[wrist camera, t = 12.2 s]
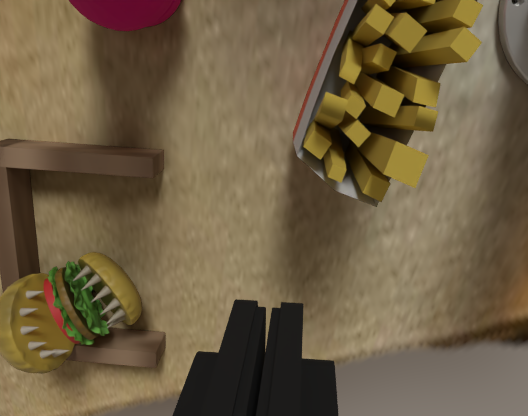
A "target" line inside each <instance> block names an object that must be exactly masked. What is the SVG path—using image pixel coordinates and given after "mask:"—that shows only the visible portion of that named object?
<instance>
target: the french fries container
mask: <svg viewBox="0 0 528 416" xmlns="http://www.w3.org/2000/svg"><path fill="white" fill-rule="evenodd" d="M482 7H483V5H482V4H480V3H478V2H477V0H345V1H344V4H343V6H342V8H341V10H340V12H339V15H338V17H337V19H336V22H335V24H334V27H333V29H332V32H331V34H330V37H329V39H328V42H327V44H326V47H325V49H324V52H323V54H322V57H321V59H320V62H319V64H318V67H317V69H316V72H315V74H314V77H313V79H312V82H311V84H310V87H309V89H308V92H307V94H306V97H305V100H304V103H303V106H302V109H301V111H300V114H299V117H298V120H297V123H296V126H295V128H294V131H293V143H294V147H295V150H296V154H297V156H298V157H299V158H300V159H301V160H302V161H303V162H304V163H305V164H307V165H308V166H309V167H310V168H311V169H312V170H313V171H314V172H315V173H316V174H317V175H319V176H320V177H321V178H322V179H323V180H324V181H325V182H326V183H327V184H328V185H329V186H331V187H332V188H333V189H334V190H335V191H337V192H340V193H343V194H345V195H348V196H350V197H353V198H355V199H358V200H360V201H363V202H366V203H368V204H371V205H373V206H376V207H377V205H378V203H379V201H380V202H382V200H383V198H384V196H385V194H386V192H387V190H388V188H389V186H390V182H389V181H390V178H393V179H396V180H398V181H400V182H402V183H405V184H407V185H409V186H412V187H414V188H415V187H416V185H417V182H418V180H419V177H420V175H421V173H422V170H423V168H424V165H425V163H426V160H427V158H428V156H429V155H427V154H424V153H422V152H420V151H417V150H415V149H413V148H411V147H408V146H407V144H408V142H409V140H410V138H411V135H412V133H413V131H414V130H419V131H432V132H433V130H434V126H435V122H436V118H437V114H438V111H434V110H431V109H428V108H425V107H426V105H428V106H432V107H436V104H437V99H438V94H439V89H440V84H441V83H438V80H439V78H440V76H441V74H442V72H443V70H444V68H445V66H446V64H450V63H461V62H467V61H468V60H469V59H470V58H471V56H472V55H473V54H474V52H475V51H476V50H477V48H478V47H479V46H480V44H481V43H482V42H481V41H480V40H479V39H478V38H477V37H475V36H474V35H473V34H472V33H471V32H470V31H469V30H468V29H467V28H470V27H472V26H473V24H474V22H475V20H476V18H477V16H478V14H479V12H480V11H481V9H482Z"/></svg>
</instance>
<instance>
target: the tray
mask: <svg viewBox="0 0 528 416" xmlns="http://www.w3.org/2000/svg"><path fill="white" fill-rule="evenodd" d="M29 169H37V170H51V171H64V172H78V173H91V174H105V175H118V176H132V177H145V178H154V177H155V176H156V175H157V174H158V173H160V172H161V171H162V170H163V169H164V150H157V149H143V148H129V147H115V146H101V145H87V144H73V143H59V142H45V141H31V140H18V139H5V140H2V141H0V274H1V281H2V289H3V292H4V291H5V290H6V289H7V287H8V286H10V285H11V284H13V283H14V282H15V281H17V280H19V279H21V278H23V277H26V276H28V275H31V274H39V273H40V269H39V259H38V249H37V239H36V230H35V220H34V210H33V200H32V191H31V181H30V171H29ZM108 331H109V333H108V334H104V335H105V336H102V335H100V334H99V336H97V337H96V338H94V339H93V340H94V343H93V344H90V345H85V344H81V343H78V344H75V345H74V347H73V350H72V353H71V355H70V356H69V357H68V358H67V359H66V360H73V361H84V362H95V363H106V364H117V365H128V366H139V367H150V368H156V367H157V365H158V363H159V360H160V358H161V356H162V354H163V351H164V349H165V332H154V331H143V330H132V329H120V328H108Z"/></svg>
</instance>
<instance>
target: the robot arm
mask: <svg viewBox="0 0 528 416" xmlns="http://www.w3.org/2000/svg"><path fill="white" fill-rule="evenodd" d="M498 26H499V34H500V41H501V44H502V47H503V50H504V53H505V56H506V58H507V60H508V62H509V64H510V65H511V67H512V69H513V70H514V72H515V73H516V74H517V75H518V76H519V77H520V78H521V79H522V80H523V81H524V82H525V83H526V84H527V85H528V0H516V1H515V3H514V4H513V3H512V0H500V4H499V19H498ZM302 331H303V304H302V303H286V302H281V308H272V313H271V319H270V326H269V332H268V339H267V346H266V352H265V335H266V308H265V307H258V302H257V301H252V300H235V301H234V304H233V307H232V311H231V314H230V317H229V321H228V324H227V327H226V330H225V334H224V337H223V340H222V343H221V347H220V350H219V353H216V352H202V351H198V352H197V353H196V355H195V358H194V360H193V363H192V366H191V368H190V371H189V374H188V376H187V379H186V381H185V384H184V387H183V389H182V392H181V395H180V397H179V400H178V403H177V405H176V408H175V411H174V413H173V416H338V404H337V391H336V378H335V365H334V361H329V360H315V359H302Z"/></svg>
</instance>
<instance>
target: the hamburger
mask: <svg viewBox="0 0 528 416" xmlns="http://www.w3.org/2000/svg"><path fill="white" fill-rule="evenodd" d="M78 263H79V265H76V264H74V262H71V263H70V262H69V261H68V262H67V264H66V267H65V268H60V269H59V270H58V268H57V267H53V269H52V270H51V271H49V275H47V274H44V273H39V274H31V275H28V276H26V277H23V278H21V279H19V280H17V281H15V282H14V283H13V284H11V285H10V286H8V287H7V289H6V290H5V291H4V292H3V294H2V296H1V297H0V354H1V356H2V357H3V358H4V359H5V360H6V361H7V362H8V363H9V364H10V365H11V366H13V367H14V368H16V369H18V370H21V371H24V372H28V373H47V372H50V371H51V370H55V369H57V368H58V367H59V366H60V365H61V364H62V363H63V362H64V361H65V360H66V359H67V358H68V357H69V356H70V355H71V353H72V350H73V347H74V345H75V344H78V343H81V344H85V345H90V344H93V343H94V340H93V339H94V338H96V337H97V336H99V334H100V335H102V336H105V335H104V334H108V333H109V331H108V328H109V327H111V326H113V325H115V324H117V323H119V322H121V321H122V322H124V323H126V324H127V325H132V324H134V323H135V322H136V321H137V319H138V318H139V317H140V315H141V312H142V302H141V298H140V296H139V293H138V291H137V289H136V287H135V285H134V284H133V282H132V280H131V279H130V278H129V277H128V275H127V274H126V273H125V271H124V270H123V269H122V268H121V267H120V266H119V265H118V264H116V263H115V262H114V261H113V260H112V259H110V258H109V257H107V256H105V255H103V254H101V253H96V252H92V253H88V254H86V255H84V256H82V257H81V258H80V259H79V261H78ZM79 266H80V267H79ZM80 268H81V270H82V271H81V272H80ZM93 289H94V290H95V292H96V293H97V294H98V295H97V296H96V297H95V298H93V296H92V294H91V292H92V290H93ZM100 298H101V299H102V301H103V302H104V303H105V304H106V305H107V307H106V308H105V309H104V310H103V309H102V304H101V302H100V300H98V299H100ZM109 310H111V311H112V312H113V313H114V315H113V316H112V317H111V319H110V320H109V321H108V322H106V321H104V320H101V317H102V316H104V315H105V312H107V311H109ZM110 322H111V323H110ZM108 323H110V325H109V326H108V325H107V324H108Z"/></svg>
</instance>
